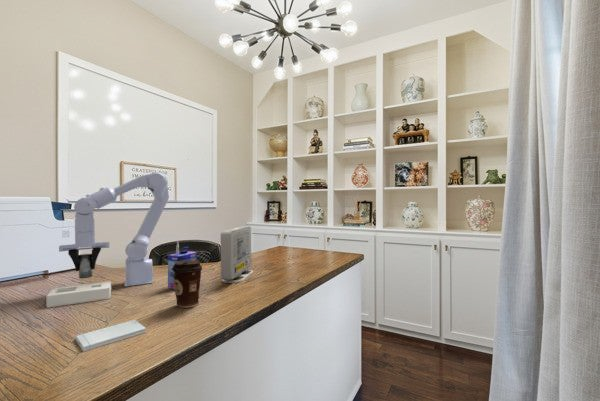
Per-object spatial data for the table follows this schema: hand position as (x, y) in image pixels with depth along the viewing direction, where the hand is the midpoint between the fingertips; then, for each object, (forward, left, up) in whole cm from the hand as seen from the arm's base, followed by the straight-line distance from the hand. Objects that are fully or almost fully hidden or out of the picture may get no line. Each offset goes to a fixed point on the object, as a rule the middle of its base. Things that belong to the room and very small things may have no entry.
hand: (85, 269), depth 107 cm
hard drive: (-10, +48, -8) cm, 50 cm away
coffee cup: (-29, +35, -8) cm, 46 cm away
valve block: (0, +10, -8) cm, 13 cm away
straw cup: (-31, +12, -8) cm, 34 cm away
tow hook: (-36, -27, -8) cm, 46 cm away
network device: (-53, +10, -8) cm, 54 cm away
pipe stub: (0, 0, -3) cm, 3 cm away
